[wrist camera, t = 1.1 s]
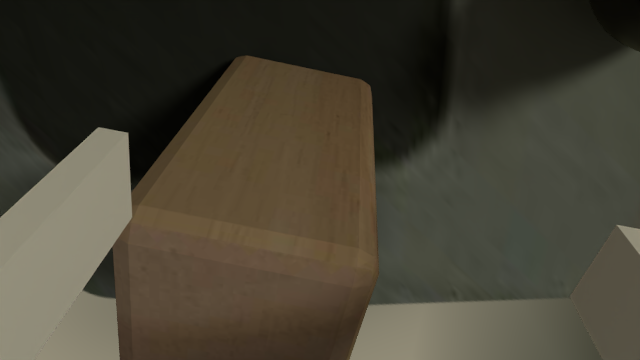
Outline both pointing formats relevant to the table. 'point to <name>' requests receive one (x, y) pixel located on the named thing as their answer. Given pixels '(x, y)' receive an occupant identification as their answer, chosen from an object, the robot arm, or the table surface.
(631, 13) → the black egg-shaped piece
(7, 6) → the table surface
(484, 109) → the table surface
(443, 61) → the table surface
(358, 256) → the wooden block
